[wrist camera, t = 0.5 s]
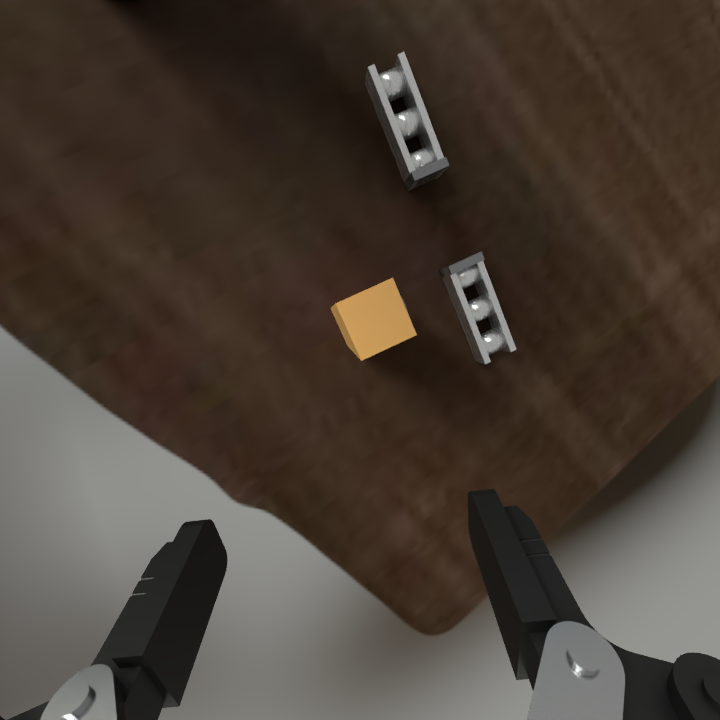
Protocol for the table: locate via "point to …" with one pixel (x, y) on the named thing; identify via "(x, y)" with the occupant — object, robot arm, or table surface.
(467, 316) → the chain end
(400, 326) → the tall wooden pillar
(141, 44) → the table surface
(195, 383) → the table surface
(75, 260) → the table surface
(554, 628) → the robot arm
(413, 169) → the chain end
